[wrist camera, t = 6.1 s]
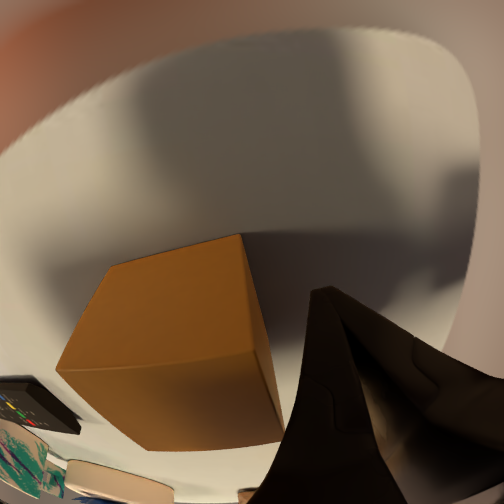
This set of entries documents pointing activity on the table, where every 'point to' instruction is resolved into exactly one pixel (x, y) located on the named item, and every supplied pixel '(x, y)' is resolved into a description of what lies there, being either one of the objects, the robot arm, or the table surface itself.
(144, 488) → the box with blue lotus
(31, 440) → the mug
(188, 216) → the table surface
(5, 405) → the remote control
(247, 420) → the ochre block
